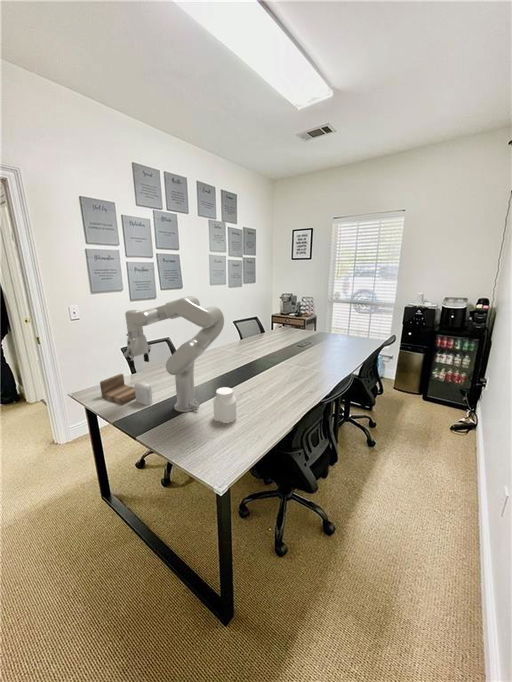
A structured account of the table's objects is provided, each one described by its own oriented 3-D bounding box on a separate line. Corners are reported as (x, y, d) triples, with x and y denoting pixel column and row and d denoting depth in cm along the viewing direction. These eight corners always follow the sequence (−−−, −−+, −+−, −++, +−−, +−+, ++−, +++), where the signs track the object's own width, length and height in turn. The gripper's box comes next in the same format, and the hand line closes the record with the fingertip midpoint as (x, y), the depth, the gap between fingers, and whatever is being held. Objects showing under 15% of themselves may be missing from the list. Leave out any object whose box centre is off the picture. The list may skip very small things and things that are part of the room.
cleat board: (143, 394, 166) (142, 379, 163) (123, 404, 154) (121, 388, 151) (122, 388, 174) (120, 373, 171) (102, 397, 162) (99, 381, 159)
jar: (210, 419, 140) (209, 392, 136) (221, 410, 149) (220, 384, 145) (229, 425, 135) (229, 397, 131) (239, 416, 143) (239, 389, 140)
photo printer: (153, 403, 156) (151, 382, 153) (147, 406, 152) (145, 385, 149) (141, 398, 161) (139, 379, 158) (135, 401, 157) (132, 381, 154)
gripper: (126, 338, 138) (131, 370, 143) (153, 331, 153) (156, 360, 157) (116, 336, 142) (121, 368, 146) (143, 329, 156) (147, 358, 161)
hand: (139, 364), depth 152 cm, fingers open, 9 cm apart
